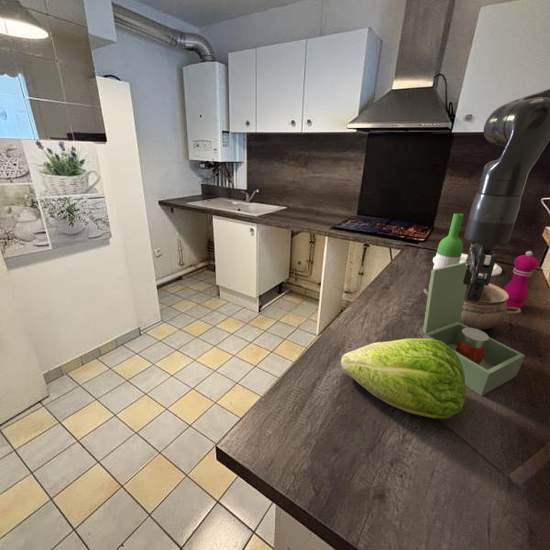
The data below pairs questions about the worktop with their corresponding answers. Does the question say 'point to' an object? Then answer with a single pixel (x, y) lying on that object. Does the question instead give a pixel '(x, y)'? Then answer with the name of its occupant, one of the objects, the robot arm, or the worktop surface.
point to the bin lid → (445, 297)
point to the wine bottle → (450, 245)
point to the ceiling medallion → (496, 271)
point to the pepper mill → (520, 280)
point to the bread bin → (495, 363)
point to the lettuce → (410, 375)
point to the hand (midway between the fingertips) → (470, 291)
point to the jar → (472, 344)
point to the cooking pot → (485, 308)
